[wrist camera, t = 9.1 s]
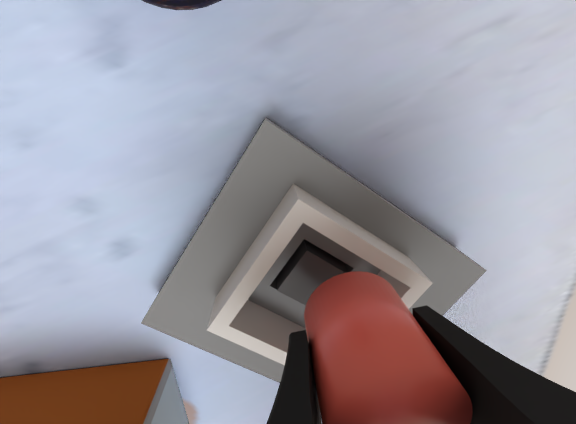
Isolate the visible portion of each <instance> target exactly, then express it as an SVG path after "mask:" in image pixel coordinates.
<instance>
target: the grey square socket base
mask: <svg viewBox="0 0 576 424" xmlns="http://www.w3.org/2000/svg"><path fill="white" fill-rule="evenodd" d="M304 239H305V240H307V241H309V242H310V243H312V244H314V245H315V246H317V247H319V248H321V249H322V250H324V251H326V252H327V253H329V254H331V255H332V256H334V257H336V258H338V259H339V260H341V261H343V263H344V265H345V267H346V269H347V271H348V272H353V271H362V272H369V273H373V274H376V275H378V276H380V277H382V278H384V279H385V280H386V281H388V282H389V283H390V284H391V285H392V287H393V288H394V289H395V291H396V292H397V294H398V295H399V296H400V298H401V299H402V301H403V302H404V304H405V305H406V306H407V308H408V309H409V311H410V312H411V313H412V315H413V312H412V308H416V307H421V306H426V305H427V306H429V307H430V308H432V309H433V310H435V311H436V312H437V313H439V314H440V315H442V316H443V315H444V314H445V313H446V312H447V311H448V310H449V308H450V307H451V306H452V305H453V304H454V303H455V302H456V301H457V300H458V299H459V298H460V297H461V296H462V295H463V294H464V293H465V292H466V291H467V290H468V289H469V288H470V287H471V286H472V285H473V284H474V283H475V282H476V281H477V280H478V279H479V278H480V277H481V276H482V275H483V274H484V273H485V272H486V271H487V270H485V269H484V268H482V267H481V266H480V265H478V264H477V263H476V262H474V261H473V260H472V259H470V258H469V257H468V256H466V255H465V254H464V253H462V252H461V251H459V250H458V249H457V248H455V247H454V246H452V245H451V244H450V243H448V242H447V241H445V240H444V239H442V238H441V237H439V236H438V235H436V234H435V233H433V232H432V231H431V230H429V229H428V228H426V227H425V226H423V225H422V224H420V223H419V222H417V221H416V220H415V219H413V218H412V217H410V216H409V215H407V214H406V213H404V212H403V211H401V210H400V209H399V208H397V207H396V206H394V205H393V204H391V203H390V202H388V201H387V200H385V199H384V198H382V197H381V196H380V195H378V194H377V193H375V192H374V191H372V190H371V189H369V188H368V187H366V186H365V185H364V184H362V183H361V182H359V181H358V180H356V179H355V178H353V177H352V176H350V175H349V174H348V173H346V172H345V171H343V170H342V169H340V168H339V167H337V166H336V165H334V164H333V163H331V162H330V161H329V160H327V159H326V158H324V157H323V156H321V155H320V154H318V153H317V152H315V151H314V150H313V149H311V148H310V147H308V146H307V145H305V144H304V143H302V142H301V141H299V140H298V139H296V138H295V137H294V136H292V135H291V134H289V133H288V132H286V131H285V130H283V129H282V128H280V127H279V126H278V125H276V124H275V123H273V122H272V121H270V120H269V119H267V118H265V119H264V121H263V123H262V124H261V126H260V128H259V129H258V131H257V133H256V134H255V136H254V137H253V139H252V141H251V142H250V144H249V146H248V147H247V149H246V151H245V152H244V154H243V156H242V157H241V159H240V160H239V162H238V164H237V165H236V167H235V169H234V170H233V172H232V174H231V175H230V177H229V179H228V180H227V182H226V183H225V185H224V187H223V188H222V190H221V192H220V193H219V195H218V197H217V198H216V200H215V202H214V203H213V205H212V206H211V208H210V210H209V211H208V213H207V215H206V216H205V218H204V220H203V221H202V223H201V225H200V226H199V228H198V229H197V231H196V233H195V234H194V236H193V238H192V239H191V241H190V243H189V244H188V246H187V247H186V249H185V251H184V252H183V254H182V256H181V257H180V259H179V261H178V262H177V264H176V266H175V267H174V269H173V270H172V272H171V274H170V275H169V277H168V279H167V280H166V282H165V284H164V285H163V287H162V289H161V290H160V292H159V293H158V295H157V297H156V299H155V300H154V302H153V304H152V305H151V307H150V309H149V310H148V312H147V314H146V316H145V317H144V319H143V321H142V322H141V323H142V324H144V325H146V326H149V327H151V328H153V329H156V330H158V331H160V332H163V333H165V334H167V335H170V336H172V337H174V338H177V339H179V340H181V341H184V342H186V343H188V344H191V345H193V346H195V347H198V348H200V349H202V350H205V351H207V352H209V353H212V354H214V355H216V356H219V357H221V358H223V359H226V360H228V361H230V362H233V363H235V364H237V365H240V366H242V367H244V368H247V369H249V370H251V371H254V372H256V373H258V374H261V375H263V376H265V377H268V378H270V379H272V380H275V381H277V382H279V383H280V382H281V378H282V374H283V370H284V366H285V361H286V356H287V350H288V343H289V335H290V334H291V333H292V332H297V331H302V330H306V327H305V320H304V312H305V307H306V305H304V304H302V303H300V302H298V301H296V300H294V299H292V298H290V297H288V296H286V295H284V294H282V293H281V292H279V291H277V282H276V277H277V275H278V274H279V272H280V271H281V270H282V268H283V267H284V266H285V264H286V263H287V262H288V260H289V259H290V258H291V256H292V255H293V253H294V252H295V251H296V249H297V248H298V247H299V245H300V244H301V243H302V241H303V240H304ZM306 334H307V332H306Z"/></svg>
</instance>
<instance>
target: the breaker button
mask: <svg viewBox="0 0 576 424" xmlns="http://www.w3.org/2000/svg"><path fill="white" fill-rule="evenodd" d="M346 272H348V271H347V269H346V267H345V265H344V263H343V261H341V260H339V259H338V258H336V257H334V256H332V255H331V254H329V253H327V252H326V251H324V250H322V249H321V248H319V247H317V246H315V245H314V244H312V243H310V242H309V241H307V240H305V239H304V240H303V241H302V243H301V244H300V245H299V247H298V248H297V249H296V251H295V252H294V253H293V255H292V256H291V258H290V259H289V260H288V262H287V263H286V264H285V266H284V267H283V268H282V270H281V271H280V272H279V274H278V275H277V277H276V282H277V291H279V292H281V293H282V294H284V295H286V296H288V297H290V298H292V299H294V300H296V301H298V302H300V303H302V304H304V305H306V304H307V301H308V299H309V297H310V296H311V294H312V293H313V292H314V291H315V289H316V288H317V287H318V286H320V285H321V284H322V283H323V282H325V281H326V280H328V279H330V278H332V277H334V276H336V275H339V274H342V273H346Z"/></svg>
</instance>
